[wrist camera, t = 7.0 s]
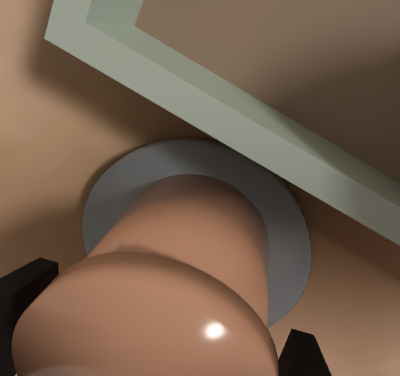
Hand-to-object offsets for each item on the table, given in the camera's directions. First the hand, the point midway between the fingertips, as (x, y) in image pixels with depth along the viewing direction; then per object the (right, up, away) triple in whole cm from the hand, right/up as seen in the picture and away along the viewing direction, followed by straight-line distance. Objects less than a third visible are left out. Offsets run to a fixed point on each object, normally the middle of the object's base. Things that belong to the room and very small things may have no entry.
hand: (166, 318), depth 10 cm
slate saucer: (+1, +2, +4) cm, 4 cm away
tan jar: (+1, +2, +2) cm, 3 cm away
